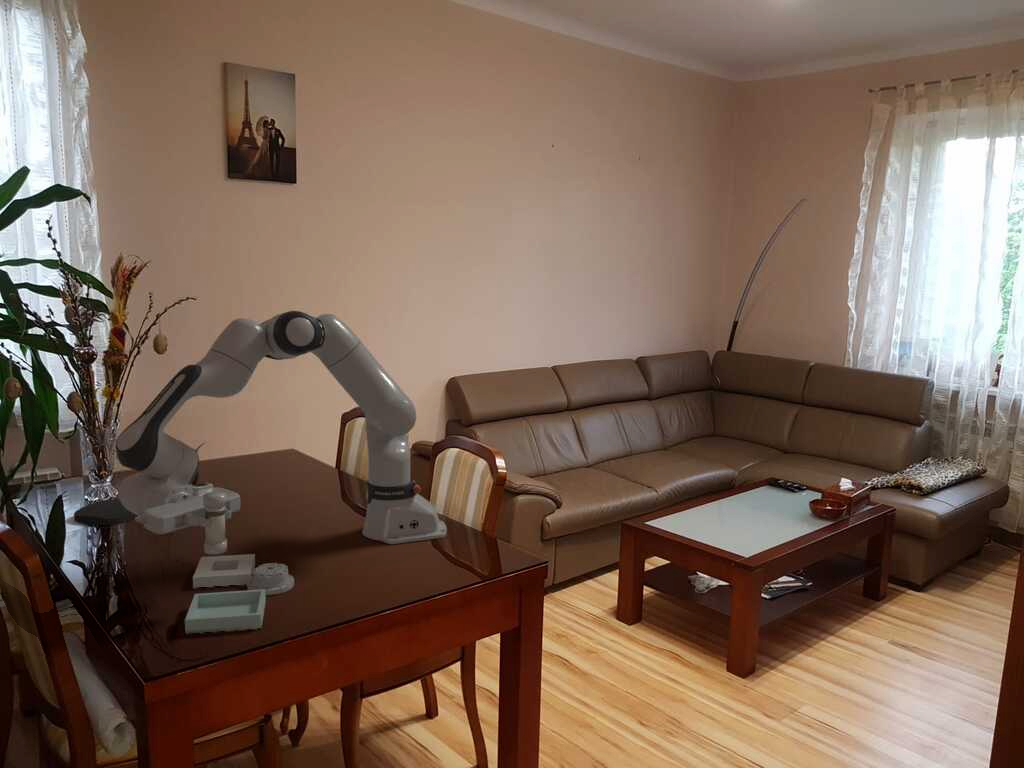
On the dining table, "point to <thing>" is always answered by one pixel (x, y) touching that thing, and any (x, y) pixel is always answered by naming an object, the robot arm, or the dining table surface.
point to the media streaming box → (103, 513)
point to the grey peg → (215, 523)
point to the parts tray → (226, 611)
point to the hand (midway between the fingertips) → (218, 518)
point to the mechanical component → (271, 579)
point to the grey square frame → (224, 570)
